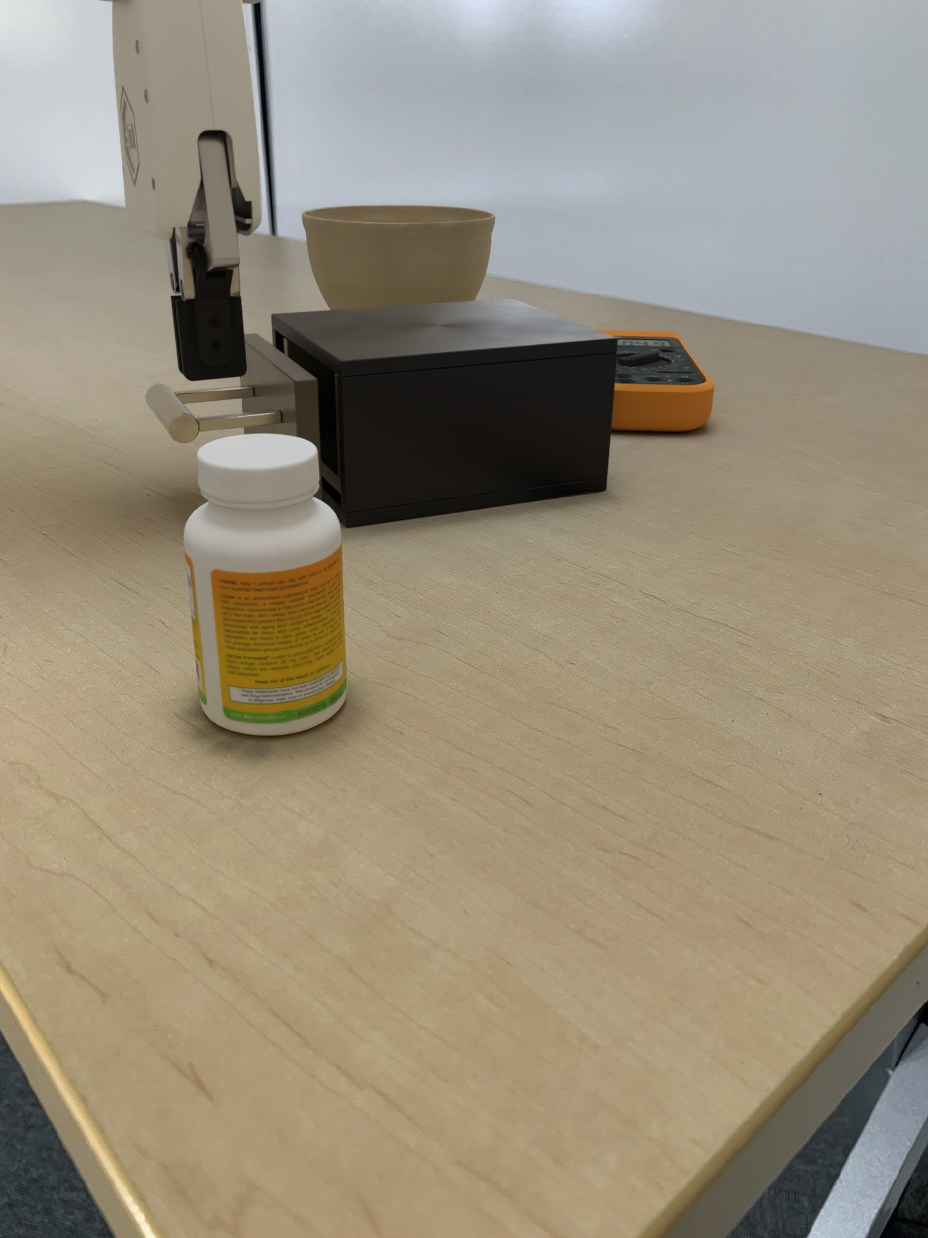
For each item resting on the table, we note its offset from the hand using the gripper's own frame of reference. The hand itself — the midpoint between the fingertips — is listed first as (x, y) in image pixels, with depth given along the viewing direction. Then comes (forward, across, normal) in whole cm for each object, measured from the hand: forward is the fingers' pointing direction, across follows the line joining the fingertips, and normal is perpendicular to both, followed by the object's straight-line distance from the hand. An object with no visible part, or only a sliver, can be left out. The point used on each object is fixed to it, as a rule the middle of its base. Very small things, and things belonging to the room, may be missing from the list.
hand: (213, 374), depth 57 cm
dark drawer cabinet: (+7, 0, +13) cm, 15 cm away
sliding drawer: (+6, 0, +7) cm, 9 cm away
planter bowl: (+7, -34, +24) cm, 42 cm away
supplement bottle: (+7, +22, -3) cm, 23 cm away
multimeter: (+7, -10, +33) cm, 35 cm away
